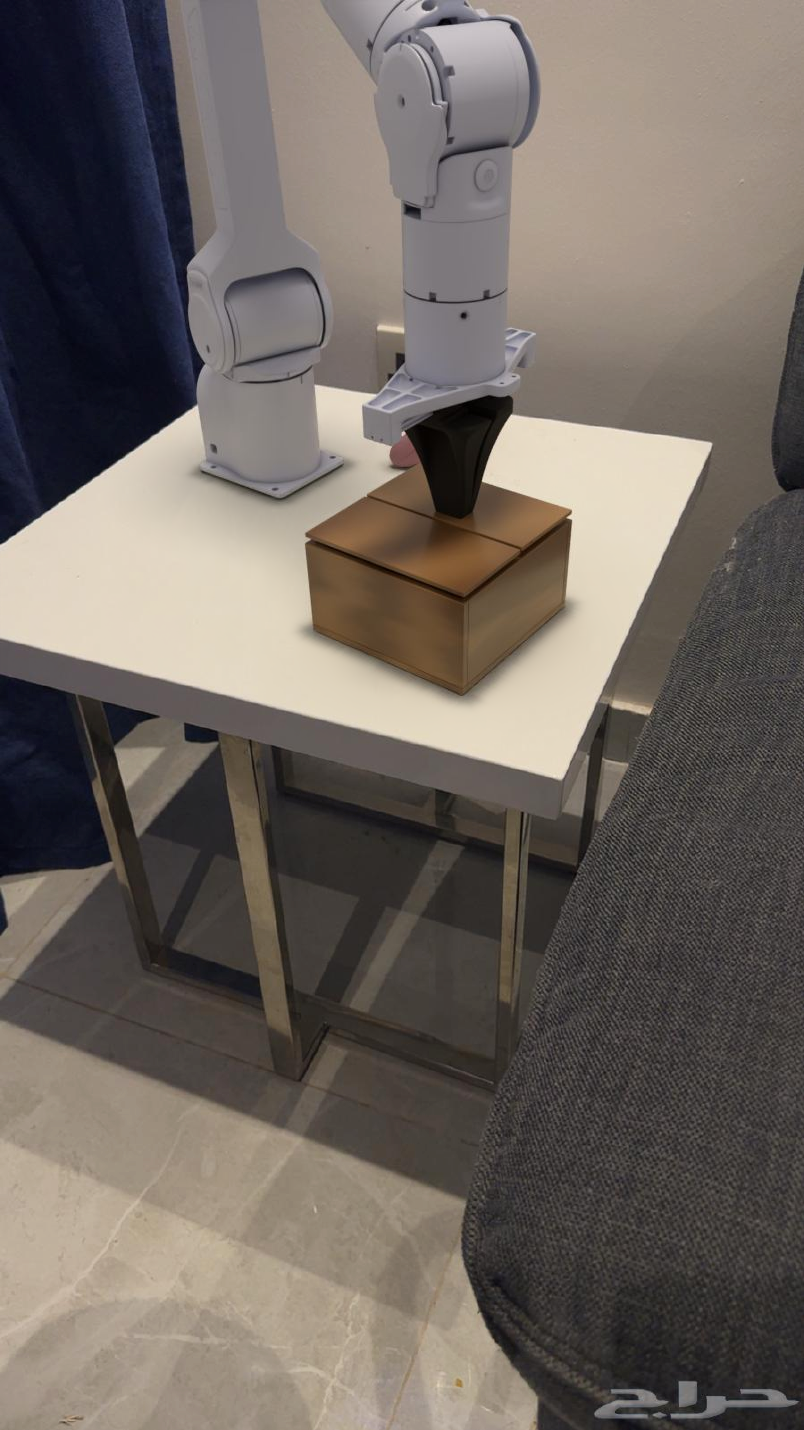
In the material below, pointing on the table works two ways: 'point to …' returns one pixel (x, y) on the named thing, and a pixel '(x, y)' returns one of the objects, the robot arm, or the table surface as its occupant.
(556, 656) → the table surface
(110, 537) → the table surface
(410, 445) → the video game controller
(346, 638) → the wooden box
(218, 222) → the robot arm
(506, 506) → the flap
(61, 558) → the table surface
